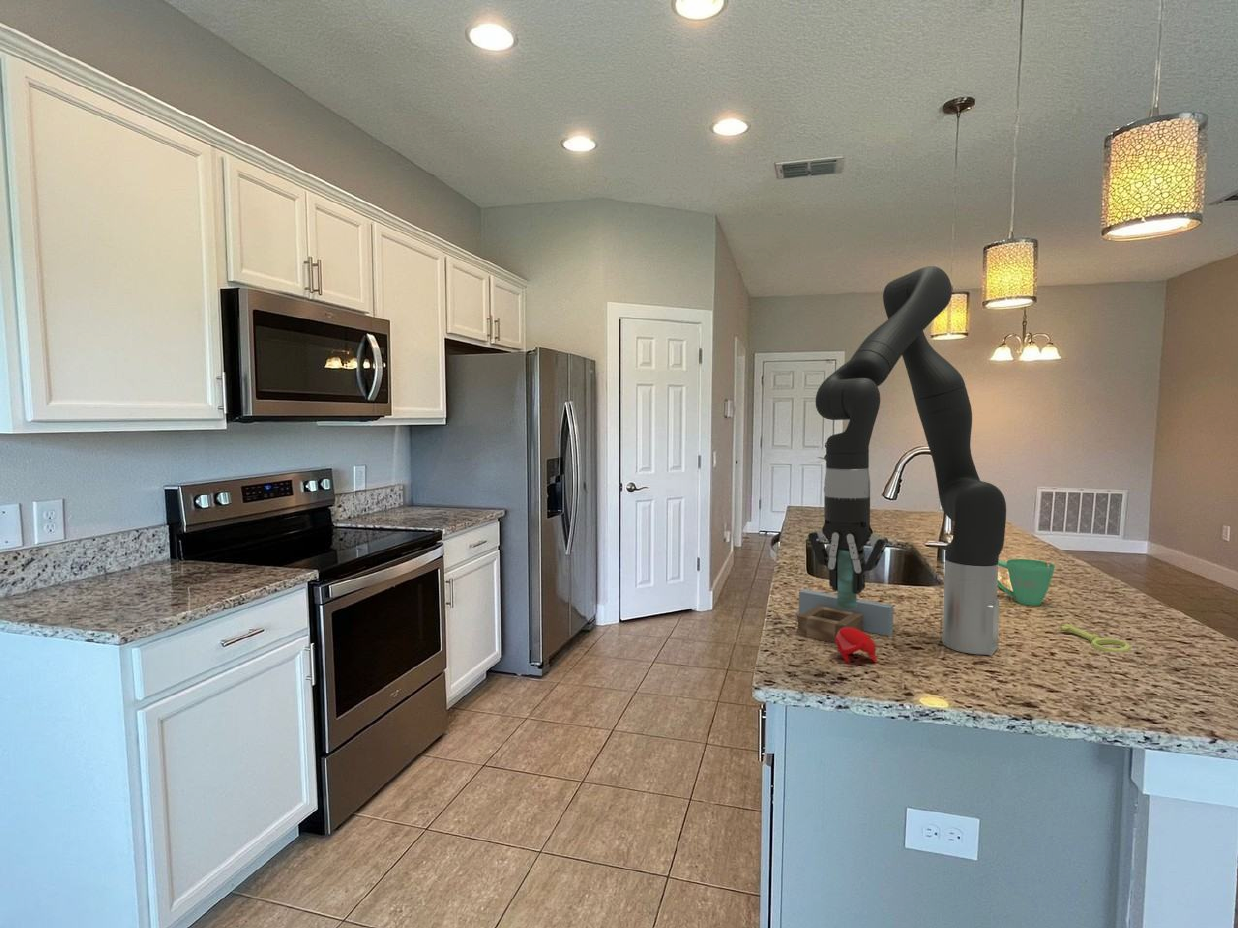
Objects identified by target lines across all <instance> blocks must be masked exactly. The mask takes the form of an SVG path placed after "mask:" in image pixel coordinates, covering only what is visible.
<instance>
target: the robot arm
mask: <svg viewBox="0 0 1238 928" xmlns="http://www.w3.org/2000/svg"><path fill="white" fill-rule="evenodd" d="M952 293H953V286H952V282H951V280H950V277H949V276H948V274H947V273H946V272H945V271H944V270H943V269H942V268H940V267H938V266H933V265H930V266H925V267H921V268H918V269H916V270H914V271H912V272H910V273H907V274H904V275H902V276H900V277H898V278H895V279H892V280H891V281H889V282H888V283H887V284H886V285H885V287H884V289H883V293H882V300H883V301H882V302H883V303H882V304H883V307H884V311H885V314H886V317H887V320H885V321H884V322H882V324H880V325H879V326H878V327H877V328H875V330H873V331H872V332H871V333H869V335H868V336H867V337H866V338H865V339H864V340H863V341H862V343H861V344H860V346H859V347H858V348H857V349H856V351H855V352H854V354H853V355H852V357H851V358H850V360H848V361H847V362H845V363H844V364H842V365H841V366H840V367H839V368H837V369H836V370H835V371H834V372H832V373H831V374H830V375H829V376H828V377H827V378H826V379H824V380H823V382H822V383H821V384H820V386H819V388H818V390H817V392H816V395H815V408H816V411H817V412H818V414H819V415H820V416H821V417H822V418H824V419H827V420H831V421H843V420H845V421H847V420H849V421H848V424H847V426H846V428H845V430H844V431H842V432H839V433H835V434H833V435H830V436H829V437H828V438H827V439H826V444H825V475H824V481H823V482H824V487H823V493H824V495H823V496H824V501H823V502H824V512H823V513H824V523H823V526H822V529H820V530H814V531H811V532H809V534H807V536H808V537H807V538H808V539H809V542H810V545H811V547H812V550H813V552H814V555H815V558H816V560H817V563H818V564H819V565H822V566H825V567H827V568H828V569H829V570H828V571H829V572H828V573H829V574H828V575H829V576H828V577H829V578H828V579H829V580H828V581H829V582H828V584H829V586H830V588H832V590H833V591H836V592H837V556H838V550H844V551H850V555H851V559H852V560H853V565H854V570H855V572H854V573H853V592H854V594H857V595H859V594H861V593H862V591H864V590H865V587H866V572H869V571H872V570H875V568H877V566H878V564H879V562H880V560H881V557H882V556H883V554H884V552H885V550H886V547H887V546H888V543H889V539H888V538H887V537H885V536H884V537H880V536H878V535H876V534H875V533H874V532H873V529H872V527H871V478H870V477H871V476H870V468H869V467H870V466H869V465H870V462H869V461H870V460H869V458H870V457H869V456H870V450H869V449H870V442H871V438H872V436H873V435H872V434H873V431H874V427H875V425H876V420H877V418H878V414H879V412H880V411H879V409H880V406H881V393H880V389H879V386H881V385H882V384H883V383H884V382H885V381H886V379H888V376H889V375H890V373H891V372H892V371H893V369H894V368H895V366H896V364H897V363H898V361H899V360H900V359H901V357H902V359H903V362H904V365H905V369H906V372H907V375H908V380H909V383H910V386H911V390H912V395H913V399H914V402H915V406H916V409H917V412H918V413H917V414H918V417H919V420H920V423H921V425H922V429H923V433H924V437H925V439H926V443H927V447H928V449H929V452H930V454H931V458H932V462H933V466H934V472H935V477H936V483H937V485H936V486H937V491H938V496H939V497H938V498H939V502H940V506H941V509H942V511H943V513H944V514H945V515H946V516H947V518H948V519H950V520H951V521H952V522H953V532H952V534H953V536H952V539H951V541H950V542H949V543H948V544H946V546H945V547H944V571H943V572H944V574H943V575H944V577H943V604H942V605H943V606H942V607H943V608H942V609H943V610H942V632H941V634H942V641H941V642H942V645H943V646H945V647H946V648H948V649H950V650H953V651H957V652H960V653H964V654H970V655H986V656H993V655H994V654H995V652H996V651H997V649H998V647H999V628H1000V627H999V625H1000V600H998V589H999V588H998V580H999V565H998V562H999V560H1000V559H999V558H1000V554H1001V553H1002V551H1003V548H1004V545H1005V535H1006V534H1005V533H1006V522H1007V503H1006V499H1005V496H1004V494H1003V491H1001V490H1000V488H998V487H997V486H996V485H994V484H992V483H990V482H987V481H983V480H980V477H979V475H978V472H977V469H976V468H977V467H976V466H975V463H974V459H973V455H972V448H971V441H972V440H971V438H972V436H971V435H972V428H973V427H972V426H973V409H972V405H971V400H970V397H969V393H968V389H967V387H966V383H965V380H964V378H963V376H962V375H961V373H960V372H959V370H957V369H956V368H955V367H954V366H953V365H952V364H951V363H950V362H948V360H947V359H946V358H944V357H943V356H942V355H941V354H939V352H937V351H936V349H934V348H933V347H932V345H931V344H930V342H929V341H928V339H927V337H926V334H925V333H924V330H925V329H926V328H927V327H928V326H929V325H930V324H931V323H932V322H933V321H934V320H935V319H936V318H937V317H938V316H939V315H940V314H942V313H943V311H944V310H945V309H946V308H947V307H948V305H949V304H950V302H951V298H952V296H953V295H952ZM825 538H826V540H827V542H828V543H829V544H830V548H829V553H828V551H827V548H826V546H825V542H824V541H825ZM869 541H870V542H871V543H870V546H871V549H872V550H871V553H869V554H870V555H869V556H868V559H867V561H866V559H865V558H866V556H865V555H866V553H865V549H864V547H865V546H866V545H867V544H868V542H869Z"/></svg>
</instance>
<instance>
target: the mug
mask: <svg viewBox="0 0 1238 928" xmlns="http://www.w3.org/2000/svg"><path fill="white" fill-rule="evenodd" d="M999 566H1000V567H1002V568H1004V569H1006V570H1007V571H1008V575H1009V576H1008V577H1009V583H1010V586H1011V589H1012V590H1011V589H1010V588H1008V587H1006V586H1004V585H1003V584H1002V583H1001V582H1000V580H999V579H998V588H997V589H998V590H999V591H1001V592H1002V593H1004V594H1006V595H1008V596H1010V597H1012V598H1013V599H1014V600H1016V602H1017V603H1018V604H1020V605H1024V606H1031V607H1038V606H1041V604H1042V602H1043V601H1044V599H1045V597H1046V595H1047V592H1048V590H1049V588H1050V586H1051V580H1052V578H1053V575H1054V571H1055V568H1056V567H1055V565H1054V564H1053V563H1049V565H1048V563H1047V561H1044V560H1043V561H1042V560H1037V559H1031V558H1030V559H1029V558H1026V559H1025V558H1012V559H1011V558H1010V559H1008V560H1006V561H1004V560H1001V559H999V562H998V567H999Z"/></svg>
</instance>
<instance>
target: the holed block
mask: <svg viewBox="0 0 1238 928" xmlns="http://www.w3.org/2000/svg"><path fill="white" fill-rule="evenodd" d="M845 627H851V628H855V629H858V630H860V631H862V632H864V631H863V614H859V613H854V612H849V611H844V610H839V609H833V608H828V607H823V606H818V605H817V606H816V607H814V608H812V609H810V610H808V611H806V612H804V613H803V614H801V615H799V614H798V616H797V635H798V636H803V637H807V638H810V639H816V640H821V641H823V642H829V643H833V644H836V640H835V637H836V636H837V633H838V631H839V630H840V629H842V628H845Z"/></svg>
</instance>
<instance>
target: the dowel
mask: <svg viewBox="0 0 1238 928" xmlns="http://www.w3.org/2000/svg"><path fill="white" fill-rule="evenodd" d="M854 572H855V570H854V565H853V560H852V559H851V555H850V551H844V550H838V556H837V591H836V592H837V593H836V595H837V606H839V607H842V608H856V607H857V599H858V598H857V597H858V596H857V595H858V594H854V592H853V573H854Z"/></svg>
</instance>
